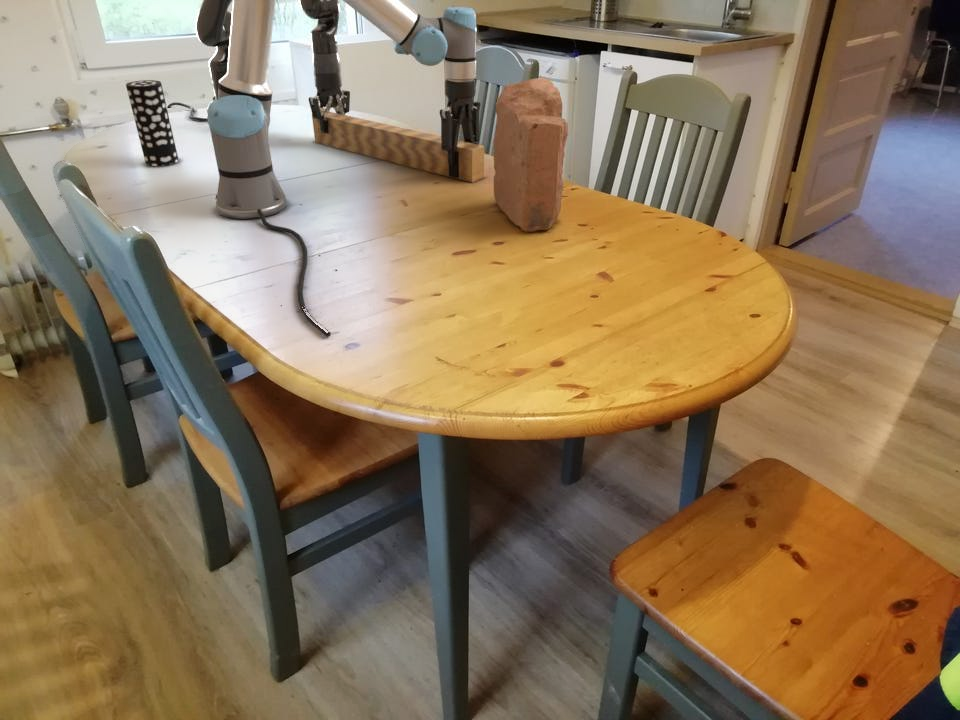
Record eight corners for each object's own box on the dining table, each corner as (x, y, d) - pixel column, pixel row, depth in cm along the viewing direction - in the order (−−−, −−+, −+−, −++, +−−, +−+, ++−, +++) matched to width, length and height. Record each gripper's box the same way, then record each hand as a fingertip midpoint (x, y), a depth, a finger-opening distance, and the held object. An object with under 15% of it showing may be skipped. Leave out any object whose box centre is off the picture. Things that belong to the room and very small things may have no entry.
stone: (573, 229, 148) (583, 90, 134) (525, 235, 145) (529, 94, 131) (535, 200, 166) (540, 75, 151) (491, 204, 163) (492, 77, 148)
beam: (484, 177, 178) (484, 145, 174) (472, 182, 175) (472, 150, 171) (327, 138, 208) (324, 110, 204) (315, 142, 205) (311, 113, 200)
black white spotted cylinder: (184, 157, 190) (167, 80, 179) (169, 166, 183) (151, 87, 172) (155, 156, 190) (136, 79, 179) (139, 165, 183) (119, 86, 172)
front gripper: (470, 71, 175) (470, 163, 187) (424, 82, 163) (427, 179, 175) (494, 75, 171) (492, 168, 184) (448, 86, 159) (449, 185, 171)
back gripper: (336, 64, 199) (342, 124, 208) (297, 71, 190) (305, 133, 199) (355, 67, 196) (360, 128, 205) (316, 74, 186) (323, 138, 195)
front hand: (460, 173), depth 179 cm, fingers closed on beam, 5 cm apart
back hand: (333, 130), depth 202 cm, fingers open, 5 cm apart
